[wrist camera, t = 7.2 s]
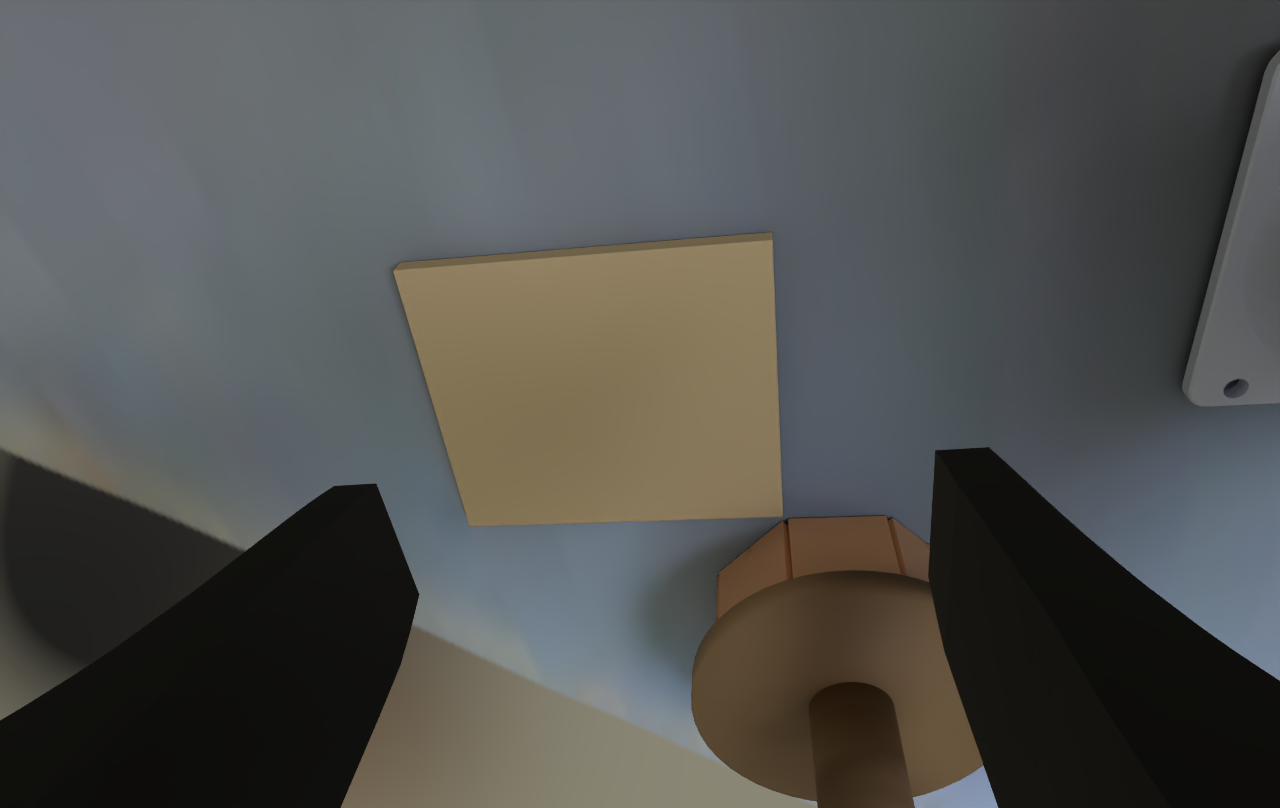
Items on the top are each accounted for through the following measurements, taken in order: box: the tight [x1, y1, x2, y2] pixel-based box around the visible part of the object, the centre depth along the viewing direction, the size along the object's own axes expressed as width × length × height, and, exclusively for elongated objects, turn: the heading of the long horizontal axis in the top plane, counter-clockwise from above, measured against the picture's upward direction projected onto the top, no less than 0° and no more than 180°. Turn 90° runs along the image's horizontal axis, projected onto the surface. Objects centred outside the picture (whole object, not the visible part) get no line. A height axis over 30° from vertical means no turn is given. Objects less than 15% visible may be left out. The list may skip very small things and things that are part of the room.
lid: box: [691, 570, 983, 808], centre depth 20 cm, size 8×8×5 cm
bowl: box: [716, 516, 930, 621], centre depth 23 cm, size 7×7×3 cm
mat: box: [393, 232, 783, 527], centre depth 21 cm, size 9×8×1 cm
